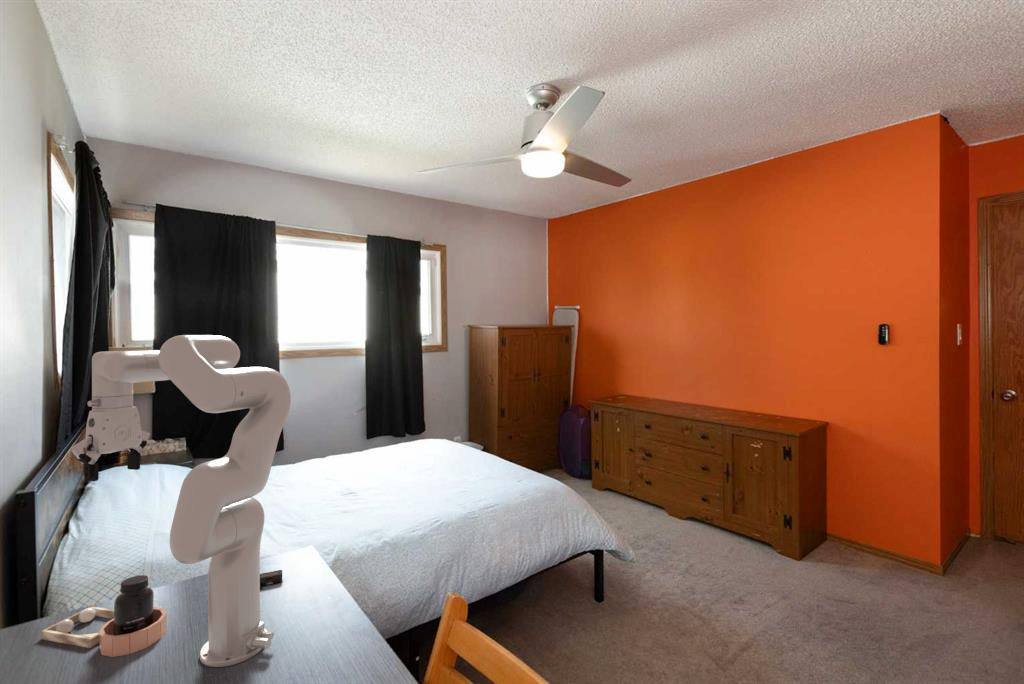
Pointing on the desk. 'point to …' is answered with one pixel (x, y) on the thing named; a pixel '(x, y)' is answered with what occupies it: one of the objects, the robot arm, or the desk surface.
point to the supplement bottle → (133, 606)
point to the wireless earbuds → (270, 578)
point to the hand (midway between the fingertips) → (113, 474)
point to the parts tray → (76, 640)
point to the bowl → (132, 636)
